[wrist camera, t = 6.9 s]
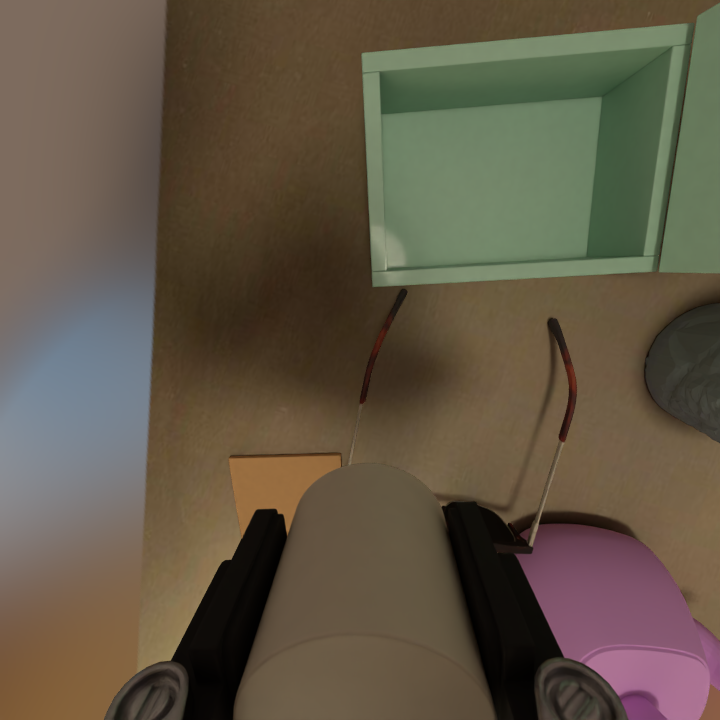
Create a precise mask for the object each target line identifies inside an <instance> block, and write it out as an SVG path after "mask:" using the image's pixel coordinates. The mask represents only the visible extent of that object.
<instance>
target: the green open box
mask: <svg viewBox="0 0 720 720" xmlns="http://www.w3.org/2000/svg"><path fill="white" fill-rule="evenodd" d="M693 30H694V23H687V24H676V25H665V26H654V27H643V28H632V29H621V30H610V31H599V32H588V33H577V34H566V35H555V36H544V37H533V38H522V39H511V40H500V41H488V42H477V43H466V44H455V45H444V46H433V47H422V48H411V49H400V50H389V51H378V52H367V53H362V54H361V55H362V76H363V97H364V119H365V140H366V161H367V182H368V203H369V225H370V246H371V267H372V286H373V287H384V286H402V285H420V284H438V283H457V282H475V281H493V280H512V279H530V278H548V277H566V276H585V275H603V274H621V273H640V272H656V271H657V268H658V261H659V256H658V255H659V254H660V248H661V242H662V235H663V228H664V222H665V215H666V209H667V202H668V195H669V189H670V182H671V175H672V169H673V162H674V156H675V149H676V142H677V136H678V129H679V122H680V116H681V109H682V103H683V96H684V89H685V83H686V76H687V70H688V63H689V56H690V50H691V45H690V44H691V43H692V37H693Z"/></svg>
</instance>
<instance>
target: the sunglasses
mask: <svg viewBox="0 0 720 720" xmlns="http://www.w3.org/2000/svg"><path fill="white" fill-rule="evenodd" d="M407 293H408V292H407V290H405V289H402V290H401V292H400V294H399V295H398V298H397V300H396V302H395V304H394V306H393V308H392V310H391V312H390V314H389V316H388V318H387V320H386V322H385V324H384V326H383V328H382V329H381V331H380V334H379V336H378V338H377V340H376V343H375V345H374V348H373V350H372V353H371V355H370V358H369V361H368V365H367V368H366V372H365V376H364V381H363V386H362V391H361V396H360V404H359V410H358V416H357V421H356V426H355V431H354V436H353V442H352V447H351V452H350V457H349V462H348V465H351V461H352V456H353V451H354V446H355V441H356V436H357V431H358V426H359V421H360V416H361V411H362V406H363V403H364V402H365V401H366V397H367V392H368V387H369V382H370V377H371V373H372V369H373V366H374V363H375V360H376V357H377V355H378V352H379V349H380V347H381V344H382V342H383V339H384V337H385V335H386V333H387V331H388V329H389V327H390V325H391V323H392V321H393V319H394V317H395V315H396V313H397V311H398V309H399V308H400V306H401V304H402V302H403V301H404V299H405V297H406V295H407ZM548 324H549V327H550V329H551V331H552V333H553V335H554V336H555V338H556V340H557V342H558V345H559V348H560V351H561V355H562V358H563V361H564V364H565V368H566V372H567V376H568V381H569V398H568V405H567V409H566V413H565V417H564V420H563V424H562V427H561V430H560V434H559V439H560V440H559V443H558V446H557V450H556V453H555V456H554V459H553V463H552V466H551V469H550V472H549V476H548V479H547V482H546V485H545V489H544V492H543V495H542V499H541V502H540V506H539V509H538V512H537V515H536V518H535V521H533V523H532V526H531V529H530V533H529V536H528V540H525V539H524V538H522V537H521V536H520V534H519V533H518V532H517V530H516V529H515V527H514V526H513V525H512V524H511V523H508V525H507V524H506V523H505V522H504V521H503V520H502V518H500V517H499V516H498V515H497V514H496V513H495V512H493V511H492V510H490V509H488V508H485V507H483V506H480V505H478V507H479V509H480V512H481V514H482V517H483V519H484V522H485V524H486V527H487V529H488V531H489V534H490V536H491V539H492V541H493V544H494V546H495V548H496V551H497V552H504V553H514V554H532V552H533V547H532V546H533V543H534V539H535V536H536V533H537V530H538V526H539V521H540V517H541V514H542V511H543V507H544V504H545V501H546V497H547V494H548V491H549V488H550V485H551V482H552V478H553V475H554V472H555V469H556V466H557V463H558V460H559V457H560V454H561V451H562V448H563V445H564V442H565V440H566V437H567V433H568V430H569V427H570V423H571V420H572V417H573V413H574V409H575V404H576V396H577V385H576V377H575V373H574V369H573V365H572V362H571V359H570V355H569V352H568V349H567V346H566V343H565V340H564V337H563V334H562V331H561V328H560V325H559V323H558V321H557V319H551V320H550V321H549V322H548ZM456 502H463V501H452V502H449V503H448V504H447V505H446V506H442V510H443V513H444V517H445V521H446V525H447V529H448V532H449V518H448V510H449V508H455V503H456Z"/></svg>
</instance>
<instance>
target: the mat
mask: <svg viewBox="0 0 720 720" xmlns="http://www.w3.org/2000/svg"><path fill="white" fill-rule="evenodd" d="M228 460H229V466H230V472H231V478H232V484H233V490H234V496H235V502H236V507H237V513H238V519H239V525H240V531H241V537H243V535H244V533H245V531H246V529H247V527H248V525H249V523H250V520H251V518H252V516H253V514H254V512H255V511H256V510H257V509H277V511H278V514H283V515H284V518H285V525H286V532H287V536H288V533H289V530H290V527H291V523H292V520H293V517H294V514H295V511H296V508H297V506H298V503H299V501H300V499H301V498H302V496H303V494H304V493H305V492H306V490H307V489H308V488H309V487H310V486H311V485H312V484H313V483H314V482H315V481H316V480H318V479H319V478H320V477H322V476H323V475H325V474H327V473H329V472H331V471H333V470H335V469H338V468H340V467H342V462H341V453H324V454H290V455H256V456H230V457H229V458H228Z"/></svg>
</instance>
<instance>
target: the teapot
mask: <svg viewBox="0 0 720 720" xmlns="http://www.w3.org/2000/svg"><path fill="white" fill-rule="evenodd" d="M530 529H531V528H529V529H527V530H525V531H523V532H522V533H520V536H521V537H522V538H524V539H525V540H528V536H529V533H530ZM532 547H533V552H532V554H515V555H516V557H517V558H518V560H519V562H520V564H521V567H522V569H523V571H524V573H525V575H526V577H527V579H528V581H529V584H530V586H531V588H532V590H533V592H534V594H535V596H536V598H537V600H538V603H539V605H540V607H541V609H542V611H543V613H544V615H545V617H546V620H547V622H548V624H549V626H550V628H551V630H552V632H553V634H554V637H555V639H556V641H557V643H558V645H559V647H560V649H561V651H562V654H563V656H564V658H570V659H573V660H575V661H578V662H581V663H583V664H585V665H587V666H588V667H590V668H591V669H593V670H595V671H596V672H597V673H598V674H600V675H601V676H602V677H603V678H604V679H605V680H606V681H607V682H608V683H609V684H610V685H611V687H612V688H613V689H614V691H615V692H616V693H617V695H618V696H619V698H620V700H621V702H622V704H623V706H624V709H625V711H626V714H627V717H628V720H699V718H700V716H701V715H702V713H703V711H704V708H705V705H706V702H707V698H708V693H709V687H710V684H712V685H713V686H714V687H715V688H717V689H718V690H719V691H720V641H719V640H718V639H717V638H716V637H715V636H714V635H713V634H712V633H711V632H710V631H709V630H708V629H707V628H706V627H704V626H703V625H702V624H701V623H700V622H698V621H697V620H696V619H694V618H693V617H692V616H691V613H690V611H689V608H688V606H687V603H686V601H685V599H684V597H683V595H682V593H681V591H680V589H679V587H678V586H677V584H676V583H675V581H674V579H673V578H672V576H671V575H670V573H669V572H668V570H667V569H666V568H665V566H664V565H663V564H662V562H661V561H660V560H659V559H658V557H657V556H656V555H655V554H654V553H653V552H652V551H651V550H650V549H649V548H648V547H647V546H646V545H644V544H643V543H642V542H640V541H638V540H636V539H634V538H632V537H630V536H628V535H625V534H621V533H618V532H615V531H611V530H608V529H603V528H598V527H592V526H586V525H578V524H542V525H539V526H538V530H537V533H536V536H535V539H534V543H533V546H532Z"/></svg>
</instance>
